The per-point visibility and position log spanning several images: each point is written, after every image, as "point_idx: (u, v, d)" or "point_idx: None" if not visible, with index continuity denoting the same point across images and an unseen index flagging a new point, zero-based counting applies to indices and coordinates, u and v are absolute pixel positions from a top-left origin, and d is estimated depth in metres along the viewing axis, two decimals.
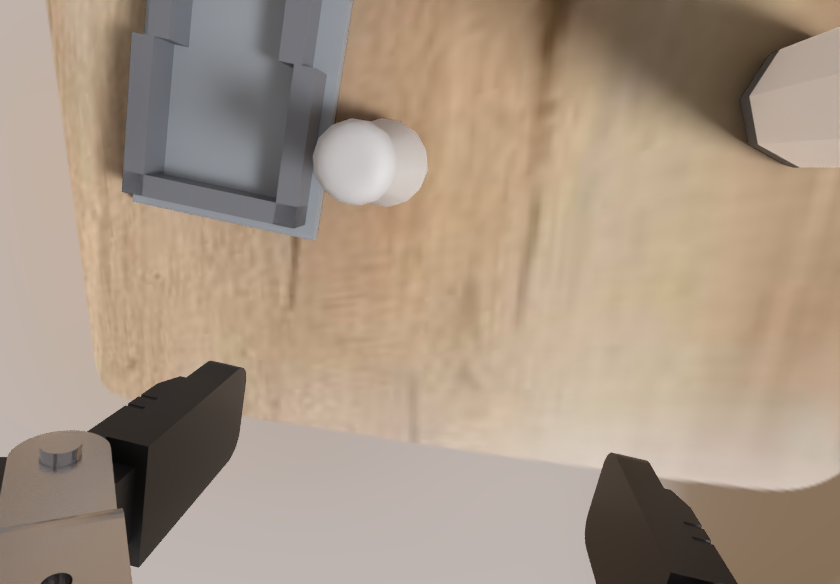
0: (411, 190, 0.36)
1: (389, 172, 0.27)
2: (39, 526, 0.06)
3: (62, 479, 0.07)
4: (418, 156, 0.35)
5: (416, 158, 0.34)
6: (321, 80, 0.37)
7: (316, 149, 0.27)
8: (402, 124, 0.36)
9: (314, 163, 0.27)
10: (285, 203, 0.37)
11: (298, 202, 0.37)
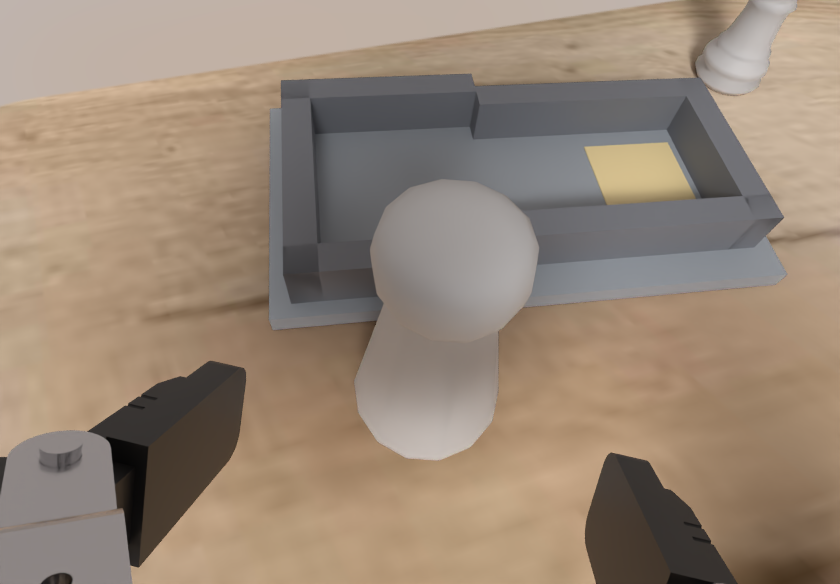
0: (402, 436, 0.20)
1: (468, 307, 0.13)
2: (39, 526, 0.06)
3: (62, 479, 0.07)
4: (464, 427, 0.19)
5: (463, 422, 0.19)
6: None
7: (456, 180, 0.14)
8: (497, 393, 0.22)
9: (430, 182, 0.14)
10: (319, 256, 0.24)
11: (326, 273, 0.24)
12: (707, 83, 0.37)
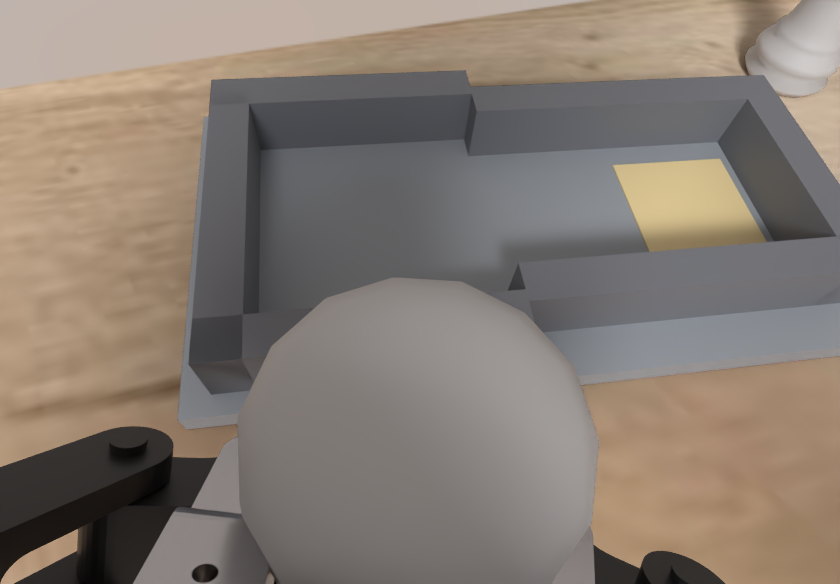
0: None
1: None
2: (213, 515, 0.06)
3: None
4: None
5: None
6: None
7: (421, 281, 0.07)
8: None
9: (368, 286, 0.07)
10: (245, 333, 0.16)
11: (253, 360, 0.16)
12: None
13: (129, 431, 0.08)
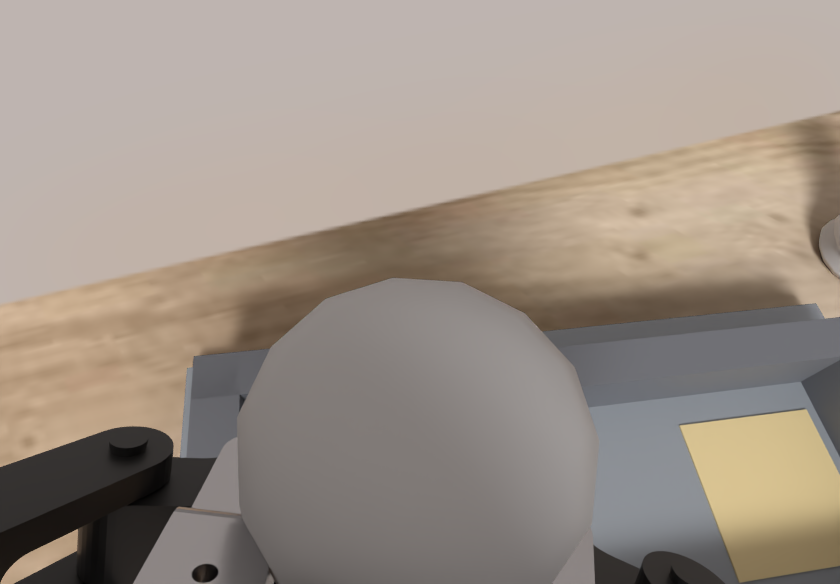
0: None
1: None
2: (212, 515, 0.06)
3: None
4: None
5: None
6: None
7: (422, 282, 0.07)
8: None
9: (368, 287, 0.07)
10: None
11: None
12: None
13: (129, 431, 0.08)
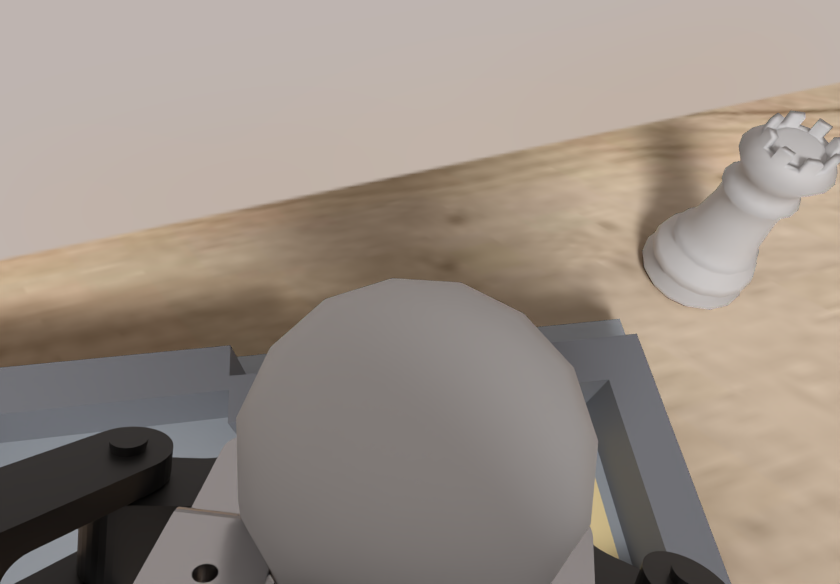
0: None
1: None
2: (212, 515, 0.06)
3: None
4: None
5: None
6: None
7: (420, 282, 0.07)
8: None
9: (367, 287, 0.07)
10: None
11: None
12: (660, 289, 0.24)
13: (129, 431, 0.08)
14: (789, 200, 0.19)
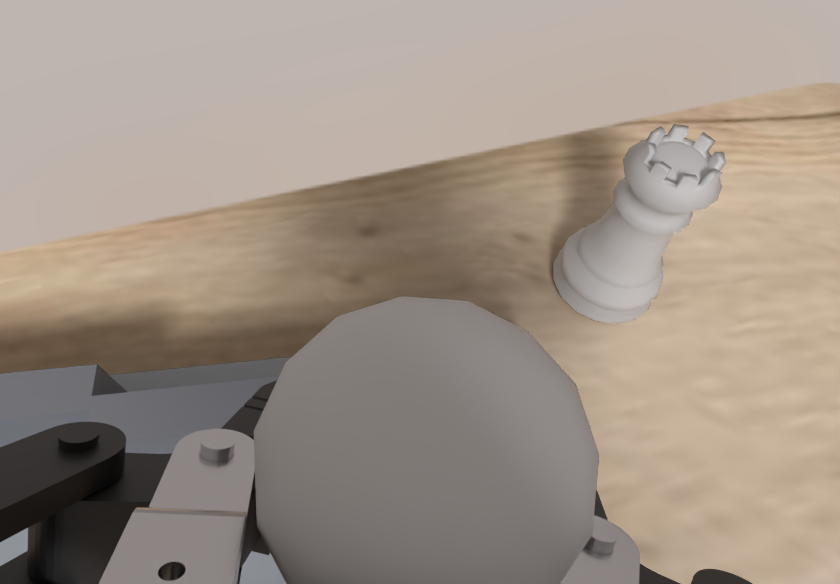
0: None
1: None
2: (174, 513, 0.06)
3: (211, 473, 0.08)
4: None
5: None
6: None
7: (429, 300, 0.07)
8: None
9: (378, 305, 0.07)
10: None
11: None
12: None
13: (78, 426, 0.08)
14: (674, 215, 0.18)
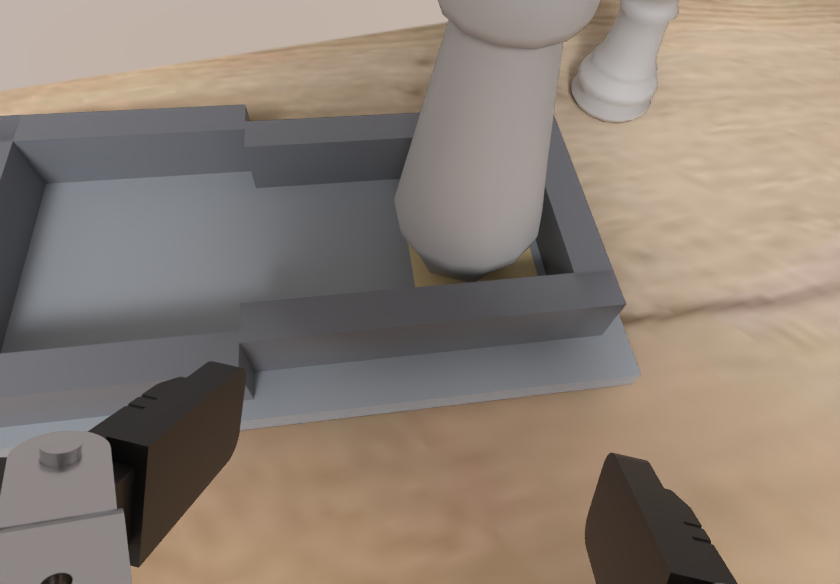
0: (448, 233, 0.19)
1: None
2: (39, 526, 0.06)
3: (62, 479, 0.07)
4: (514, 222, 0.19)
5: (513, 213, 0.18)
6: None
7: None
8: (542, 207, 0.21)
9: None
10: None
11: None
12: (583, 108, 0.30)
13: None
14: (665, 4, 0.25)
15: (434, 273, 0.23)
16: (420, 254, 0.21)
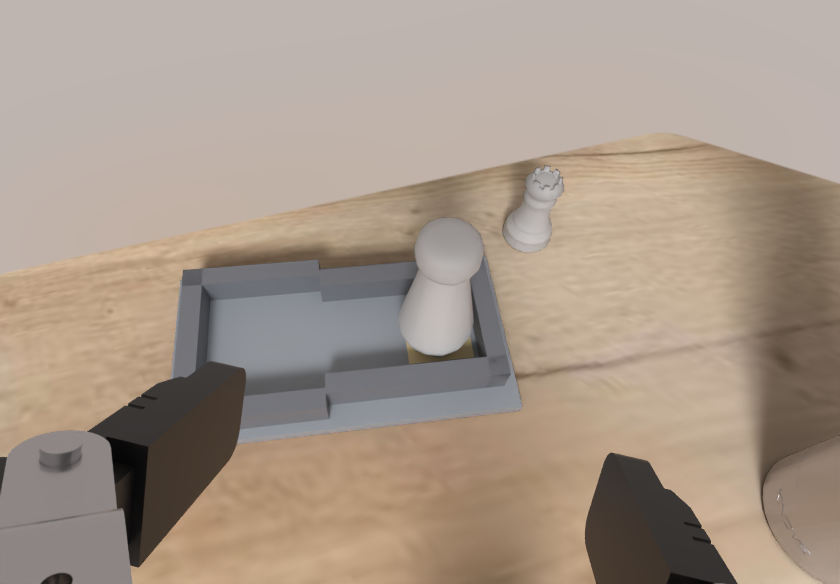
0: (424, 340, 0.40)
1: (454, 269, 0.32)
2: (39, 526, 0.06)
3: (62, 479, 0.07)
4: (455, 335, 0.39)
5: (454, 331, 0.39)
6: (320, 415, 0.39)
7: None
8: (472, 322, 0.42)
9: (439, 218, 0.34)
10: None
11: None
12: (509, 243, 0.50)
13: None
14: (545, 202, 0.45)
15: (418, 351, 0.43)
16: (411, 346, 0.41)
